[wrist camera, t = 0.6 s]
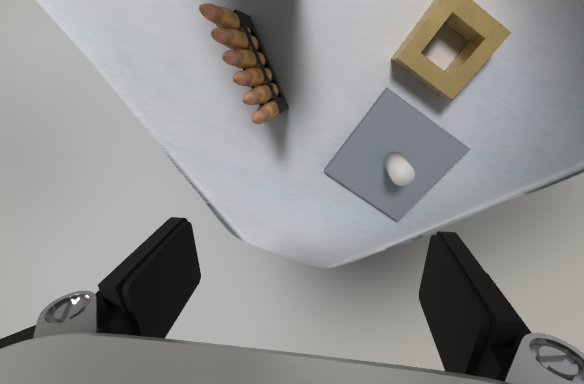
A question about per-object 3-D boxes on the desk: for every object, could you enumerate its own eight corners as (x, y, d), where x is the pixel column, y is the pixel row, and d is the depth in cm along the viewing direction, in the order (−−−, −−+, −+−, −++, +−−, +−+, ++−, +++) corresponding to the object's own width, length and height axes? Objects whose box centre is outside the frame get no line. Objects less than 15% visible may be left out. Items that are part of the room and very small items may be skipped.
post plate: (386, 87, 32) (397, 91, 27) (466, 147, 33) (492, 162, 28) (324, 169, 37) (322, 186, 31) (396, 218, 38) (407, 242, 33)
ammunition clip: (289, 108, 34) (268, 126, 23) (275, 114, 35) (249, 135, 24) (249, 15, 31) (204, -14, 20) (235, 23, 31) (183, 0, 21)
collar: (438, -7, 28) (452, -16, 25) (491, 36, 29) (511, 32, 26) (390, 59, 31) (397, 58, 28) (440, 96, 32) (452, 99, 28)
